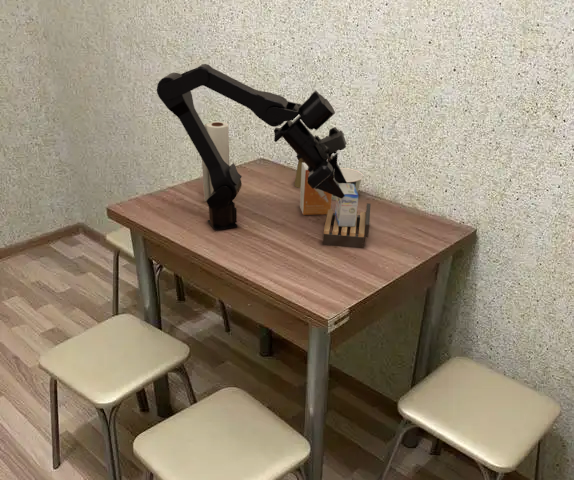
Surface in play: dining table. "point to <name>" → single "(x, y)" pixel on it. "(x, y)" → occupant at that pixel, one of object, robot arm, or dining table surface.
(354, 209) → the medicine box
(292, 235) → the dining table surface
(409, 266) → the dining table surface
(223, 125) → the paper towel roll
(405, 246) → the dining table surface
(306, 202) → the small box
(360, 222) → the rack
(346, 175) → the food container
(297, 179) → the brown pawn figure
